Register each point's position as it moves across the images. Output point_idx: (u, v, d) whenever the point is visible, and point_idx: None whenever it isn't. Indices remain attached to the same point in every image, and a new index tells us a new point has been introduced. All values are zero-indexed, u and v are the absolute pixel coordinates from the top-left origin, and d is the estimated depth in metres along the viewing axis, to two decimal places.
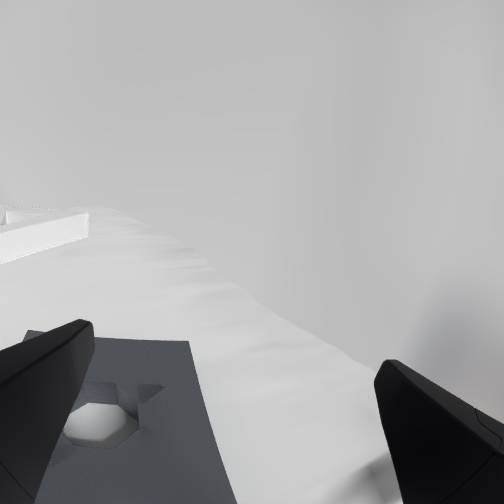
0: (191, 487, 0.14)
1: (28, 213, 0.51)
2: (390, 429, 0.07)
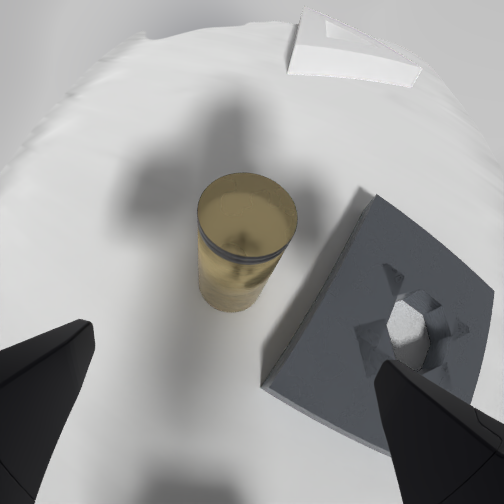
0: None
1: (355, 34, 0.44)
2: (390, 429, 0.07)
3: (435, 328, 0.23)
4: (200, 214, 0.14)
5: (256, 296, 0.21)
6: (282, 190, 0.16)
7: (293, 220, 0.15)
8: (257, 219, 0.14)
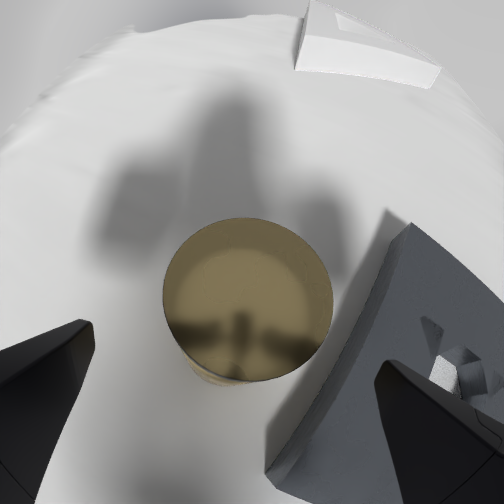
0: None
1: (368, 29, 0.38)
2: (390, 429, 0.07)
3: (469, 383, 0.17)
4: (167, 302, 0.08)
5: None
6: (308, 249, 0.09)
7: (327, 306, 0.09)
8: (267, 309, 0.08)
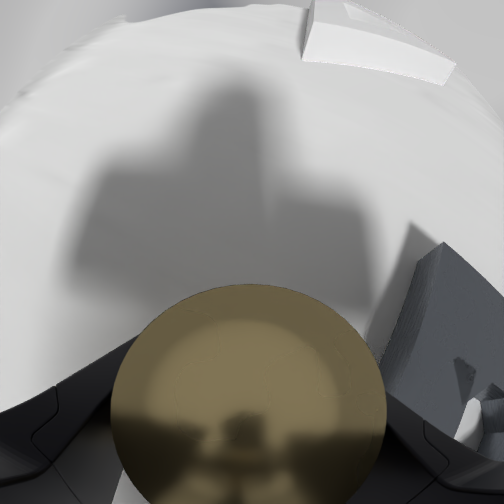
0: None
1: (379, 19, 0.33)
2: None
3: (494, 419, 0.13)
4: (119, 437, 0.04)
5: None
6: (352, 336, 0.05)
7: (377, 427, 0.04)
8: (284, 447, 0.04)
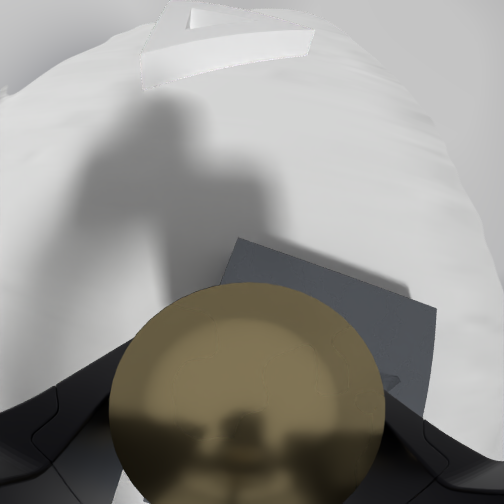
0: None
1: (226, 14, 0.37)
2: None
3: None
4: (117, 435, 0.04)
5: None
6: (351, 334, 0.05)
7: (376, 425, 0.04)
8: (283, 445, 0.04)
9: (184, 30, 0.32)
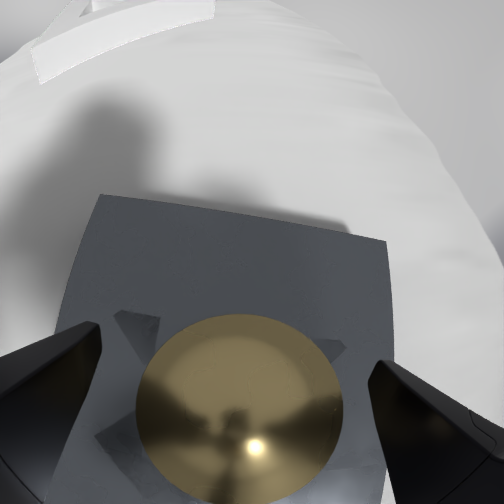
0: None
1: None
2: (383, 430, 0.07)
3: None
4: (142, 426, 0.06)
5: None
6: (316, 353, 0.07)
7: (335, 423, 0.06)
8: (262, 434, 0.06)
9: (77, 18, 0.24)
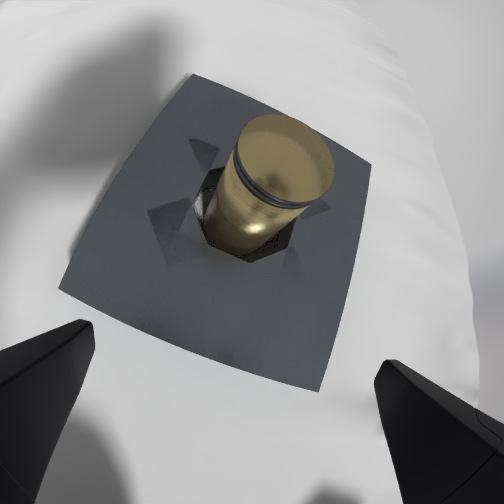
0: (301, 338, 0.19)
1: None
2: (390, 429, 0.07)
3: None
4: (241, 142, 0.13)
5: (260, 244, 0.21)
6: (325, 146, 0.14)
7: (329, 178, 0.14)
8: (295, 165, 0.13)
9: None
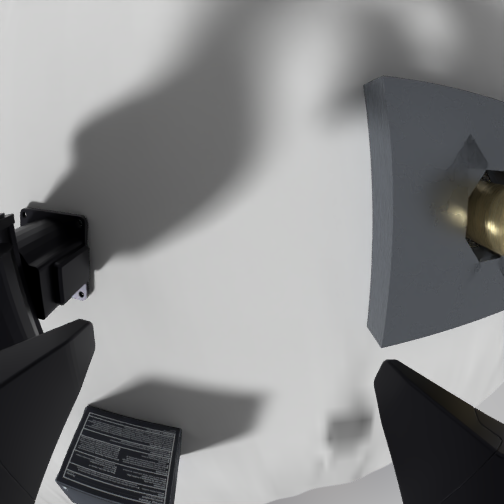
0: (423, 310, 0.18)
1: None
2: (390, 429, 0.07)
3: None
4: None
5: (473, 239, 0.18)
6: None
7: None
8: None
9: None
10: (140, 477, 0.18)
